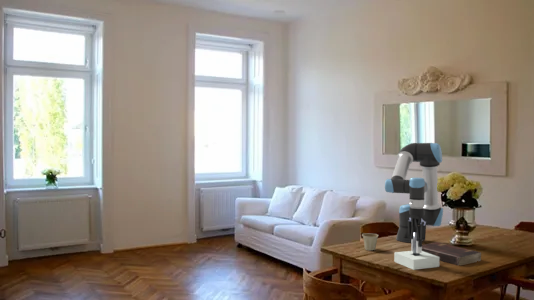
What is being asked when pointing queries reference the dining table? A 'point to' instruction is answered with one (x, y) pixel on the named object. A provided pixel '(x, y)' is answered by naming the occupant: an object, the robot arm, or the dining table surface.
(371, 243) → the flower pot
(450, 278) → the dining table surface
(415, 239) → the pin
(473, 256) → the hardback book
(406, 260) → the bore block
